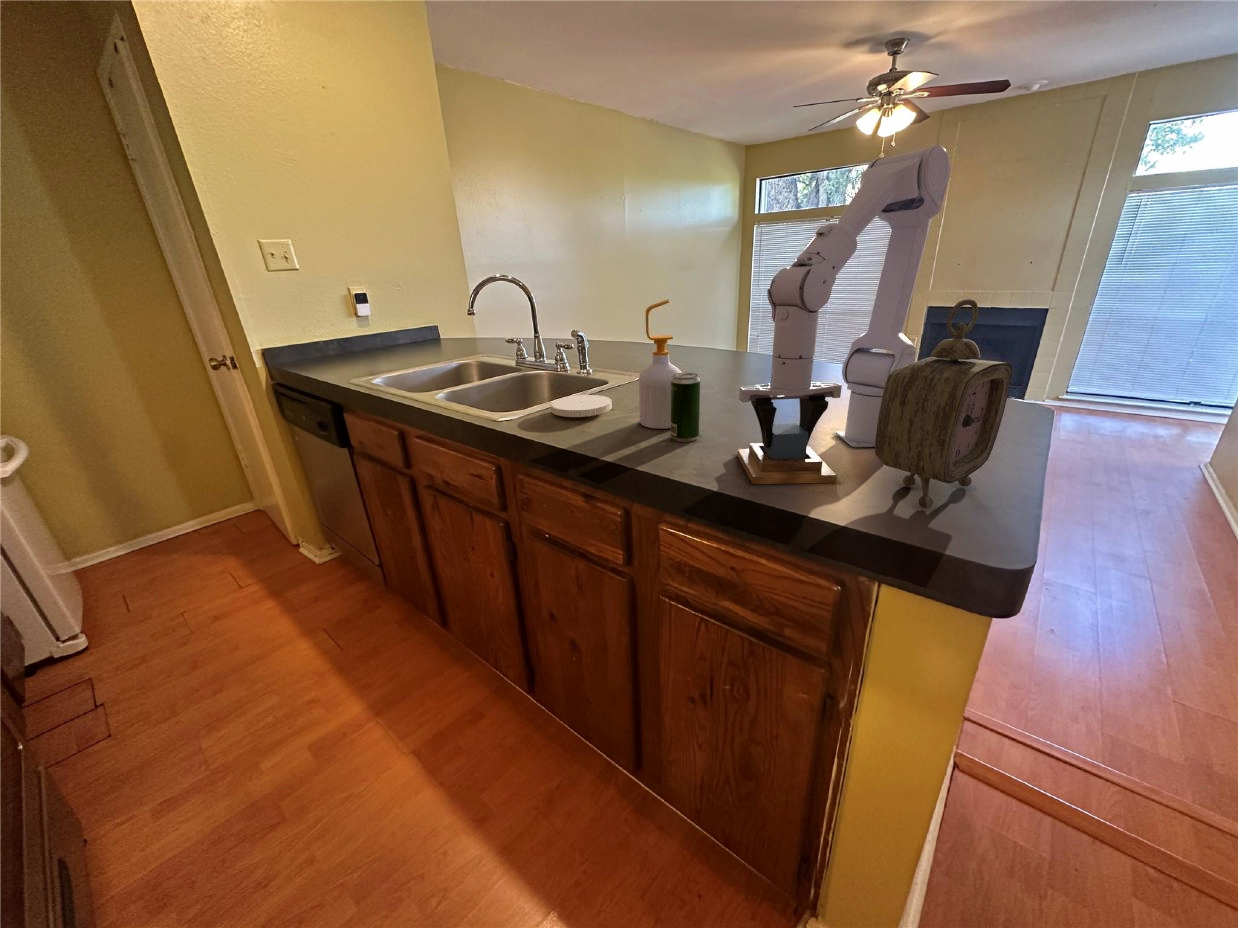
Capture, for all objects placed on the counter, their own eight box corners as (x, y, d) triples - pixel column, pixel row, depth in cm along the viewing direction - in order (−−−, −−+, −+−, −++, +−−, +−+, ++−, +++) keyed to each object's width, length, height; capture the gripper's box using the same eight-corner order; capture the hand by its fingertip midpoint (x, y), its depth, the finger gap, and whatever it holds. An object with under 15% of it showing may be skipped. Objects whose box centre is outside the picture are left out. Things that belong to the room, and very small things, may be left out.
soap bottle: (685, 428, 96) (687, 300, 87) (640, 430, 96) (637, 302, 87) (680, 416, 104) (681, 298, 95) (639, 418, 105) (636, 300, 96)
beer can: (683, 444, 87) (683, 379, 83) (664, 437, 92) (664, 375, 87) (705, 438, 90) (706, 375, 86) (686, 431, 94) (686, 371, 90)
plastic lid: (569, 403, 119) (568, 393, 118) (621, 407, 114) (620, 396, 113) (540, 419, 107) (539, 408, 106) (596, 423, 102) (595, 412, 101)
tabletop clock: (931, 517, 59) (979, 304, 49) (861, 493, 66) (892, 302, 56) (984, 487, 66) (1034, 296, 57) (915, 468, 73) (950, 295, 64)
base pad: (808, 453, 80) (810, 438, 79) (835, 482, 69) (838, 465, 68) (737, 455, 81) (737, 440, 80) (752, 484, 70) (753, 467, 69)
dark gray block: (793, 447, 77) (796, 423, 75) (805, 458, 72) (808, 433, 71) (762, 448, 77) (764, 424, 75) (772, 459, 72) (775, 434, 71)
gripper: (830, 349, 73) (820, 434, 78) (735, 354, 72) (731, 438, 77) (853, 357, 66) (840, 449, 71) (748, 361, 66) (743, 453, 71)
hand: (784, 444), depth 74 cm, fingers closed on dark gray block, 5 cm apart
